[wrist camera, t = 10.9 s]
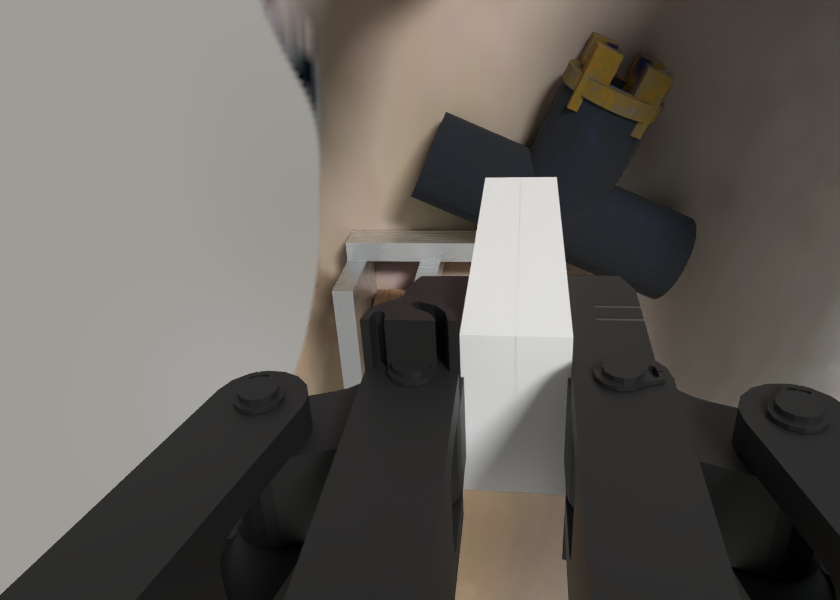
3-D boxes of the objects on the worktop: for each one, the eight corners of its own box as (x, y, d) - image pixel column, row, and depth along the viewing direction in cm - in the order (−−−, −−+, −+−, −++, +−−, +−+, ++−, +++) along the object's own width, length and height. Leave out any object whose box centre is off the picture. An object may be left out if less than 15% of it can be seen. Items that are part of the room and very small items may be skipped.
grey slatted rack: (532, 230, 44) (533, 283, 37) (530, 358, 48) (530, 425, 42) (352, 230, 45) (324, 281, 39) (365, 354, 50) (341, 418, 43)
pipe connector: (491, 0, 33) (780, 128, 34) (497, -13, 38) (751, 101, 39) (405, 210, 39) (654, 316, 40) (419, 177, 44) (642, 272, 45)
